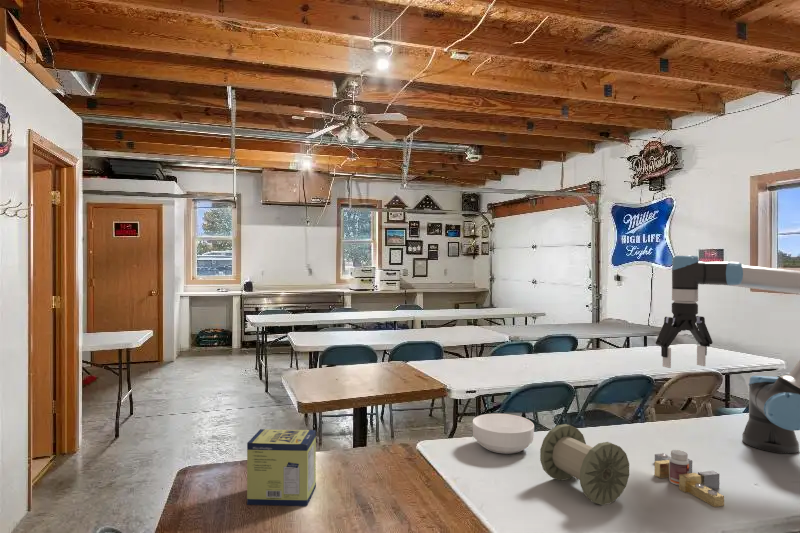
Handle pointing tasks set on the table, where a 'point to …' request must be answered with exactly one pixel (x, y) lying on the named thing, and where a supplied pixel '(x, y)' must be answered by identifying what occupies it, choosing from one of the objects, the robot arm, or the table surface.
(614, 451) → the spool
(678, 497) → the table surface
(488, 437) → the bowl
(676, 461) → the pill bottle
